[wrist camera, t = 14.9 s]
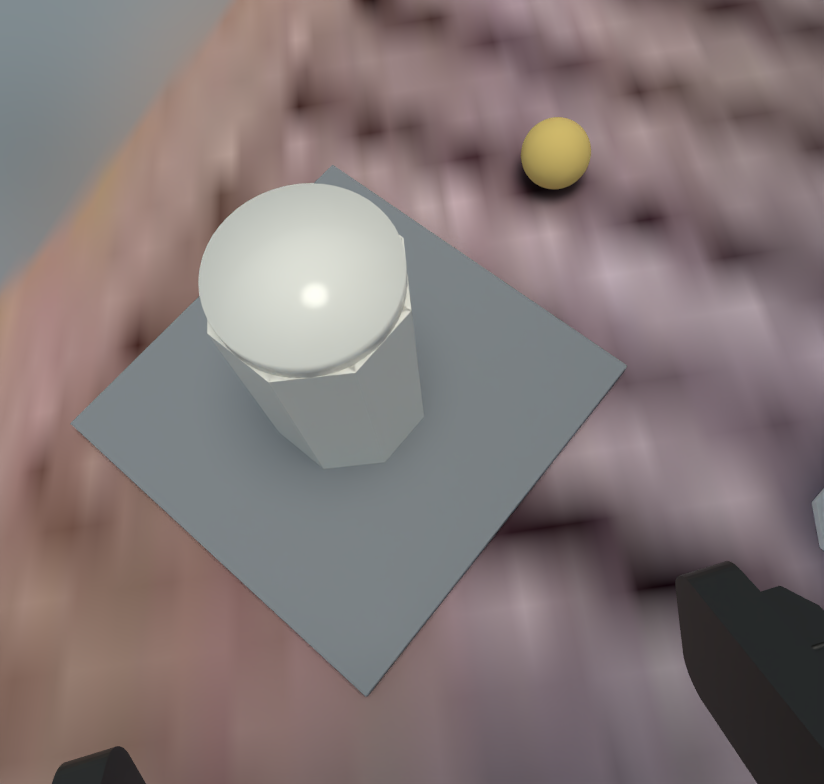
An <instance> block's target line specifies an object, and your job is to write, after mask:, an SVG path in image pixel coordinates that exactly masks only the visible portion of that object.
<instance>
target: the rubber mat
mask: <svg viewBox="0 0 824 784" xmlns="http://www.w3.org/2000/svg"><path fill="white" fill-rule="evenodd" d="M315 184H327V185H333V186H337V187H341V188H344V189H348V190H350V191H352V192H355V193H357V194H359V195H361V196H363V197H365V198H366V199H368V200H370V201H371V202H372V203H373V204H375V205H376V206H377V207H379V208H380V209H381V210H382V211H383V212H384V213H385V215H386V216H387V217H388V218H389V219H390V221H391V222H392V224H393V225H394V226H395V228H396V230H397V232H398V234H399V235H400V236H402V237H403V238H404V246H405V255H406V263H407V272H408V280H409V289H410V297H411V306H412V314H413V323H414V331H415V340H416V348H417V357H418V366H419V375H420V384H421V393H422V403H423V412H424V417H423V418H422V419H421V421H420V422H419V423H418V424H417V425H416V426H415V428H414V429H413V430H412V431H411V432H410V434H409V435H408V436H407V437H406V438H405V439H404V441H403V442H402V443H401V444H400V445H399V446H398V448H397V449H396V450H395V451H394V452H393V454H392V455H391V456H390V457H389V458H388V459H387V461H386V462H384V463H374V464H365V465H356V466H346V467H337V468H328V469H323V468H322V467H321V466H319V465H318V464H317V463H316V462H315V461H313V460H312V459H311V458H310V457H309V456H307V455H306V454H305V453H304V452H302V451H301V450H300V449H299V448H298V447H296V446H295V445H294V444H293V443H291V442H290V441H289V440H288V439H287V438H285V437H284V436H283V435H282V434H281V433H279V431H278V430H277V429H276V427H275V426H274V425H273V423H272V422H271V420H270V419H269V418H268V416H267V415H266V414H265V412H264V411H263V409H262V408H261V407H260V405H259V404H258V403H257V401H256V400H255V398H254V397H253V396H252V394H251V393H250V392H249V390H248V389H247V387H246V386H245V385H244V383H243V382H242V381H241V379H240V378H239V376H238V375H237V374H236V372H235V371H234V369H233V368H232V367H231V365H230V364H229V363H228V361H227V360H226V358H225V357H224V356H223V354H222V353H221V352H220V350H219V349H218V347H217V346H216V345H215V343H214V342H213V341H212V339H211V338H210V336H209V335H208V334H207V317H206V315H205V313H204V310H203V307H202V304H201V300H200V296H199V297H198V298H197V299H196V300H195V301H194V302H193V303H192V304H191V305H190V306H189V307H188V308H187V309H186V310H185V311H184V312H183V313H182V314H181V315H180V316H179V317H178V318H177V319H176V320H175V321H174V322H173V323H172V324H171V325H170V326H169V327H168V328H167V329H166V330H165V331H164V332H163V333H162V334H161V335H160V336H159V337H158V338H157V339H156V340H154V341H153V342H152V343H151V344H150V345H149V346H148V347H147V348H146V349H145V350H144V351H143V352H142V353H141V354H140V355H139V356H138V357H137V358H136V359H135V360H134V361H133V362H132V363H131V364H130V365H129V366H128V367H127V368H126V369H125V370H124V371H123V372H122V373H121V374H120V375H119V376H118V377H117V378H116V379H115V380H114V381H113V382H112V383H111V384H110V385H109V386H108V387H107V388H106V389H105V390H104V391H103V392H102V393H101V394H100V395H99V396H98V397H97V398H96V399H95V400H94V401H93V402H92V403H91V404H90V405H89V406H88V407H87V408H86V409H85V410H84V411H83V412H82V413H81V414H79V415H78V416H77V417H76V418H75V419H74V420H73V421H72V422H71V423H70V424H71V425H73V426H74V427H75V428H76V429H77V430H78V431H79V432H80V433H81V434H82V435H83V436H84V437H86V438H87V439H88V440H89V441H90V442H91V443H92V444H93V445H94V446H95V447H96V448H97V449H99V450H100V451H101V452H102V453H103V454H104V455H105V456H106V457H107V458H108V459H109V460H110V461H112V462H113V463H114V464H115V465H116V466H117V467H118V468H119V469H120V470H121V471H122V472H123V473H125V474H126V475H127V476H128V477H129V478H130V479H131V480H132V481H133V482H134V483H135V484H136V485H137V486H139V487H140V488H141V489H142V490H143V491H144V492H145V493H146V494H147V495H148V496H149V497H150V498H152V499H153V500H154V501H155V502H156V503H157V504H158V505H159V506H160V507H161V508H162V509H163V510H165V511H166V512H167V513H168V514H169V515H170V516H171V517H172V518H173V519H174V520H175V521H176V522H178V523H179V524H180V525H181V526H182V527H183V528H184V529H185V530H186V531H187V532H188V533H189V534H191V535H192V536H193V537H194V538H195V539H196V540H197V541H198V542H199V543H200V544H201V545H202V546H203V547H205V548H206V549H207V550H208V551H209V552H210V553H211V554H212V555H213V556H214V557H215V558H216V559H218V560H219V561H220V562H221V563H222V564H223V565H224V566H225V567H226V568H227V569H228V570H229V571H231V572H232V573H233V574H234V575H235V576H236V577H237V578H238V579H239V580H240V581H241V582H242V583H244V584H245V585H246V586H247V587H248V588H249V589H250V590H251V591H252V592H253V593H254V594H255V595H257V596H258V597H259V598H260V599H261V600H262V601H263V602H264V603H265V604H266V605H267V606H268V607H269V608H271V609H272V610H273V611H274V612H275V613H276V614H277V615H278V616H279V617H280V618H281V619H282V620H284V621H285V622H286V623H287V624H288V625H289V626H290V627H291V628H292V629H293V630H294V631H295V632H297V633H298V634H299V635H300V636H301V637H302V638H303V639H304V640H305V641H306V642H307V643H308V644H310V645H311V646H312V647H313V648H314V649H315V650H316V651H317V652H318V653H319V654H320V655H321V656H323V657H324V658H325V659H326V660H327V661H328V662H329V663H330V664H331V665H332V666H333V667H334V668H336V669H337V670H338V671H339V672H340V673H341V674H342V675H343V676H344V677H345V678H346V679H347V680H348V681H350V682H351V683H352V684H353V685H354V686H355V687H356V688H357V689H358V690H359V691H360V692H361V693H363V694H364V695H365V696H368V695H369V694H370V693H371V691H372V690H373V689H374V688H375V686H376V685H377V684H378V682H379V681H380V680H381V679H382V677H383V676H384V675H385V674H386V672H387V671H388V670H389V669H390V667H391V666H392V665H393V663H394V662H395V661H396V660H397V658H398V657H399V656H400V655H401V653H402V652H403V651H404V650H405V648H406V647H407V646H408V644H409V643H410V642H411V641H412V639H413V638H414V637H415V636H416V634H417V633H418V632H419V631H420V629H421V628H422V627H423V625H424V624H425V623H426V622H427V620H428V619H429V618H430V617H431V615H432V614H433V613H434V612H435V610H436V609H437V608H438V606H439V605H440V604H441V603H442V601H443V600H444V599H445V598H446V596H447V595H448V594H449V593H450V591H451V590H452V589H453V588H454V586H455V585H456V584H457V582H458V581H459V580H460V579H461V577H462V576H463V575H464V574H465V572H466V571H467V570H468V569H469V567H470V566H471V565H472V563H473V562H474V561H475V560H476V558H477V557H478V556H479V555H480V553H481V552H482V551H483V550H484V548H485V547H486V546H487V544H488V543H489V542H490V541H491V539H492V538H493V537H494V536H495V534H496V533H497V532H498V531H499V529H500V528H501V527H502V525H503V524H504V523H505V522H506V520H507V519H508V518H509V517H510V515H511V514H512V513H513V512H514V510H515V509H516V508H517V506H518V505H519V504H520V503H521V501H522V500H523V499H524V498H525V496H526V495H527V494H528V493H529V491H530V490H531V489H532V487H533V486H534V485H535V484H536V482H537V481H538V480H539V479H540V477H541V476H542V475H543V474H544V472H545V471H546V470H547V469H548V467H549V466H550V465H551V463H552V462H553V461H554V460H555V458H556V457H557V456H558V455H559V453H560V452H561V451H562V450H563V448H564V447H565V446H566V444H567V443H568V442H569V441H570V439H571V438H572V437H573V436H574V434H575V433H576V432H577V431H578V429H579V428H580V427H581V425H582V424H583V423H584V422H585V420H586V419H587V418H588V417H589V415H590V414H591V413H592V412H593V410H594V409H595V408H596V406H597V405H598V404H599V403H600V401H601V400H602V399H603V398H604V396H605V395H606V394H607V393H608V391H609V390H610V389H611V387H612V386H613V385H614V384H615V382H616V381H617V380H618V379H619V377H620V376H621V375H622V374H623V372H624V371H625V369H626V367H627V365H625V364H624V363H622V362H621V361H620V360H618V359H617V358H615V357H614V356H612V355H611V354H609V353H608V352H606V351H605V350H603V349H602V348H600V347H599V346H598V345H596V344H595V343H593V342H592V341H590V340H589V339H587V338H586V337H584V336H583V335H581V334H580V333H578V332H577V331H576V330H574V329H573V328H571V327H570V326H568V325H567V324H565V323H564V322H562V321H561V320H559V319H558V318H556V317H555V316H554V315H552V314H551V313H549V312H548V311H546V310H545V309H543V308H542V307H540V306H539V305H537V304H536V303H534V302H533V301H532V300H530V299H529V298H527V297H526V296H524V295H523V294H521V293H520V292H518V291H517V290H515V289H514V288H512V287H511V286H510V285H508V284H507V283H505V282H504V281H502V280H501V279H499V278H498V277H496V276H495V275H493V274H492V273H490V272H489V271H488V270H486V269H485V268H483V267H482V266H480V265H479V264H477V263H476V262H474V261H473V260H471V259H470V258H468V257H467V256H466V255H464V254H463V253H461V252H460V251H458V250H457V249H455V248H454V247H452V246H451V245H449V244H448V243H446V242H445V241H444V240H442V239H441V238H439V237H438V236H436V235H435V234H433V233H432V232H430V231H429V230H427V229H426V228H424V227H423V226H422V225H420V224H419V223H417V222H416V221H414V220H413V219H411V218H410V217H408V216H407V215H405V214H404V213H402V212H401V211H400V210H398V209H397V208H395V207H394V206H392V205H391V204H389V203H388V202H386V201H385V200H383V199H382V198H380V197H379V196H378V195H376V194H375V193H373V192H372V191H370V190H369V189H367V188H366V187H364V186H363V185H361V184H360V183H358V182H357V181H356V180H354V179H353V178H351V177H350V176H348V175H347V174H345V173H344V172H342V171H341V170H339V169H338V168H336V167H335V166H334V165H332V166H331V167H330V168H329V169H328V170H327V171H326V172H325V173H324V174H323V175H322V176H321V177H320V178H319V179H318V180H317V181H316V182H315Z"/></svg>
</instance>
